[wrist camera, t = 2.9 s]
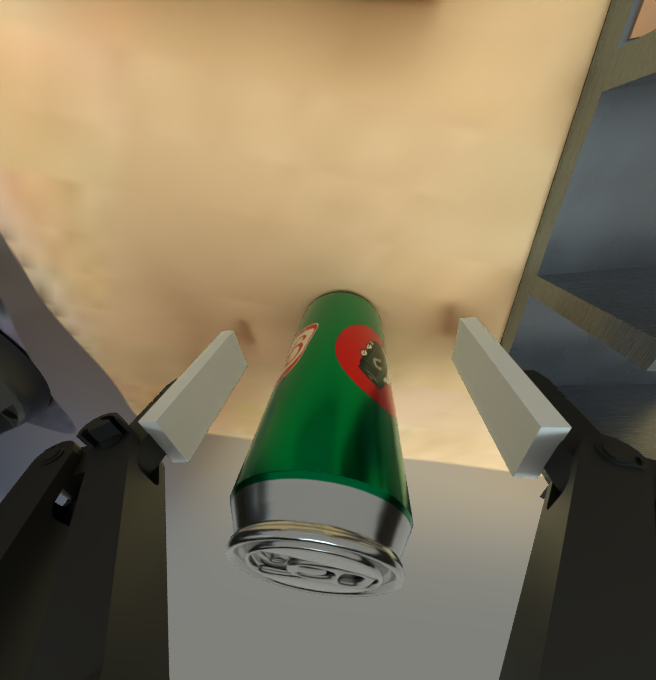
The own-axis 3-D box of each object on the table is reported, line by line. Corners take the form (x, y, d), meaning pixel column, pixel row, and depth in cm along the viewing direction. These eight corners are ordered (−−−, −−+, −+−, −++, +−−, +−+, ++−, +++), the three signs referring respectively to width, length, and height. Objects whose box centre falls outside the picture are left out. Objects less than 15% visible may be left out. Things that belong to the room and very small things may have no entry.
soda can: (308, 281, 14) (191, 511, 4) (391, 296, 14) (466, 564, 4) (300, 348, 17) (220, 579, 7) (369, 361, 17) (385, 611, 7)
